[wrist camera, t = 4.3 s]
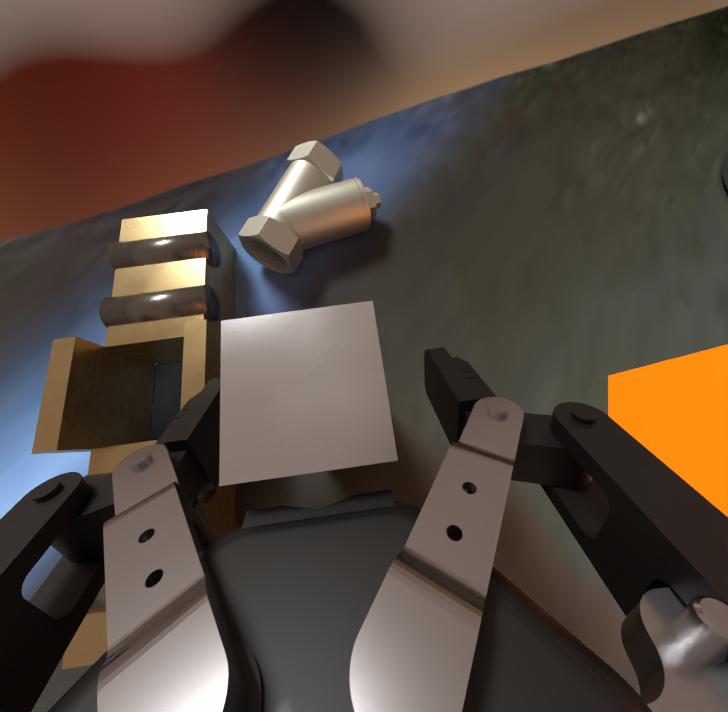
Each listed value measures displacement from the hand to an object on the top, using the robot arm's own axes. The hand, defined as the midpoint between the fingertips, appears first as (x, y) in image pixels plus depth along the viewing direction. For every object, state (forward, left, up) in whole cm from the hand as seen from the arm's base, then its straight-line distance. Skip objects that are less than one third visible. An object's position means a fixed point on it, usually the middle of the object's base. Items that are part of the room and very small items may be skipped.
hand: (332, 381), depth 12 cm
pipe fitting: (0, -12, -6) cm, 13 cm away
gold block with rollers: (+9, -1, -5) cm, 10 cm away
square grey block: (0, +1, -5) cm, 5 cm away
